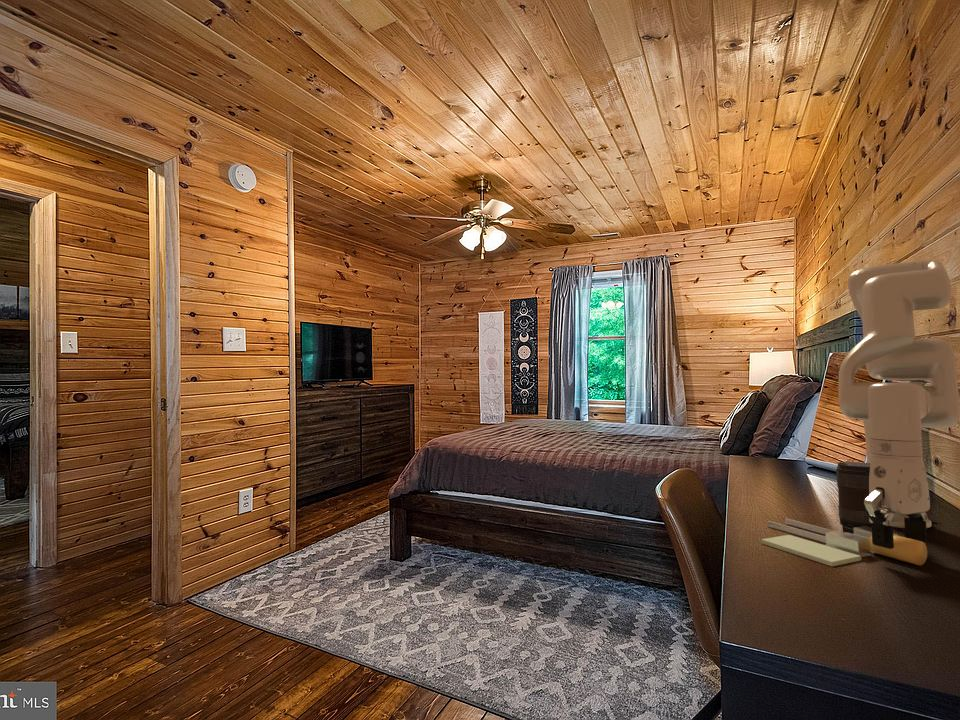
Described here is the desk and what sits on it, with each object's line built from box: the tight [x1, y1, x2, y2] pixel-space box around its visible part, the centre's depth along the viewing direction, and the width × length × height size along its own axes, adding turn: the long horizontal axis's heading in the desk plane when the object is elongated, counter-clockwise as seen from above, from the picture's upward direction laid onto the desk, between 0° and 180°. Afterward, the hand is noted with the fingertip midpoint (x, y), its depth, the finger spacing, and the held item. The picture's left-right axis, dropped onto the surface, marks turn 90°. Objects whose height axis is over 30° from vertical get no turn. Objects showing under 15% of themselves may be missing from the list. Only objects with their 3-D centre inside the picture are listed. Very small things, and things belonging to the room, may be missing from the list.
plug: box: [846, 532, 928, 566], centre depth 95 cm, size 4×13×4 cm, turn 22°
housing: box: [767, 517, 899, 558], centre depth 105 cm, size 12×21×3 cm, turn 22°
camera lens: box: [835, 461, 885, 534], centre depth 108 cm, size 8×8×15 cm
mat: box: [761, 534, 862, 567], centre depth 97 cm, size 8×14×1 cm, turn 22°
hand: (899, 543), depth 92 cm, fingers open, 9 cm apart
